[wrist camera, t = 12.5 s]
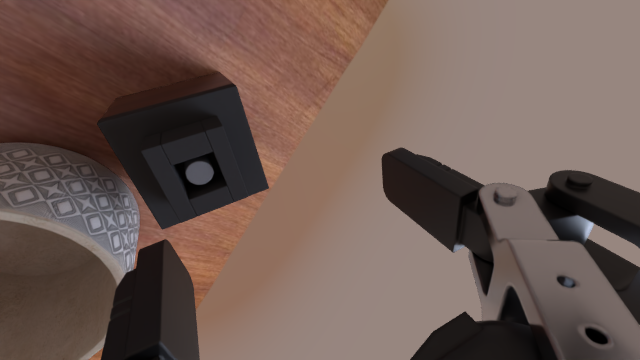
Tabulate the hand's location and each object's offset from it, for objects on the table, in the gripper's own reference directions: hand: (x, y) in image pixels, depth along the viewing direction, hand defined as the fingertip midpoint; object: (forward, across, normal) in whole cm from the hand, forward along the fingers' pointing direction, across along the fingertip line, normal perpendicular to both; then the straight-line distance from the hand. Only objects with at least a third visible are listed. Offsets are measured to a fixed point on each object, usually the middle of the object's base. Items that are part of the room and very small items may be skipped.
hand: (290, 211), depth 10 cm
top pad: (+16, +4, +4) cm, 17 cm away
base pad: (+17, +4, +4) cm, 18 cm away
